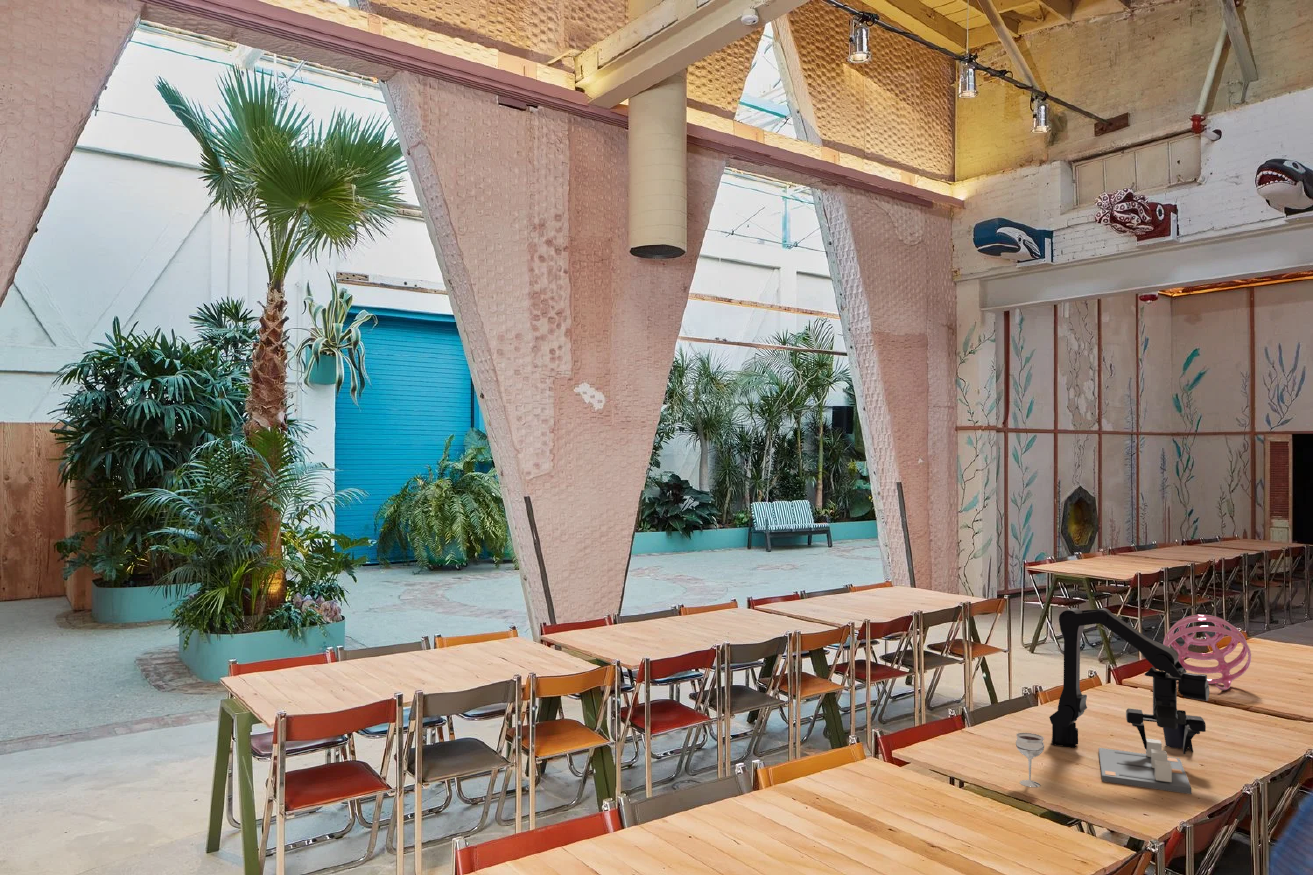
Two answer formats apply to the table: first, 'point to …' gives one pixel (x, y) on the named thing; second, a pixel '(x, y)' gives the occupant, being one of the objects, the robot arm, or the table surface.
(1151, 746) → the switch far
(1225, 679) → the spiral basket
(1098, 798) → the table surface
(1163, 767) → the switch near
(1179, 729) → the speaker
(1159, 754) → the switch mid
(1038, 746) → the wineglass
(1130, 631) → the robot arm
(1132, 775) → the switch board
